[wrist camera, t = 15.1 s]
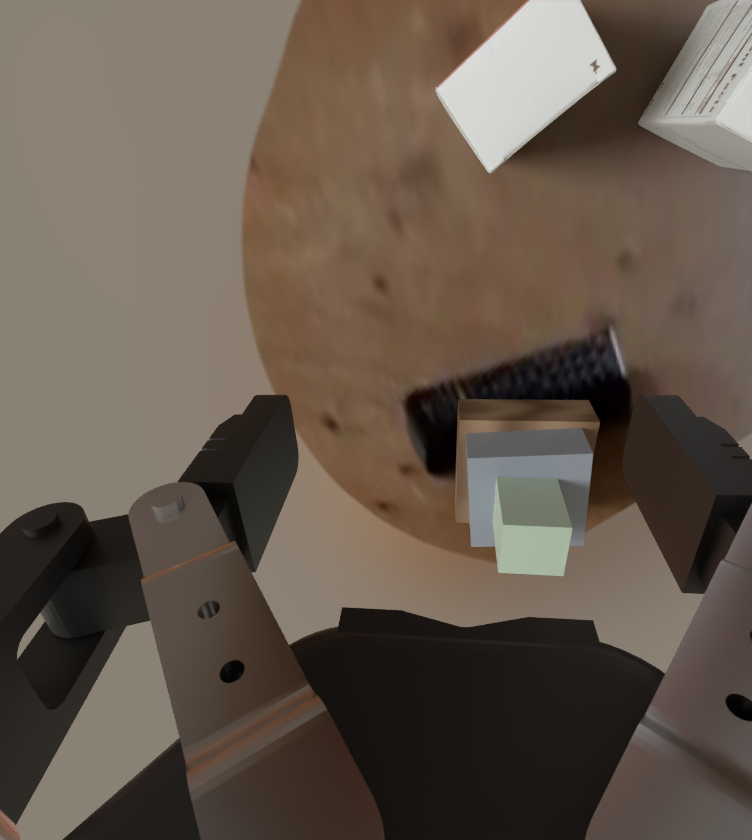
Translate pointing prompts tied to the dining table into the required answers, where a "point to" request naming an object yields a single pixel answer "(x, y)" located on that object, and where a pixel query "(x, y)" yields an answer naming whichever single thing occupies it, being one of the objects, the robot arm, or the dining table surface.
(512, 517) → the sage block
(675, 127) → the supplement box
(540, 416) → the walnut base slab
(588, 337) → the dining table surface
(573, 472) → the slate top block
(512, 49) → the small box
